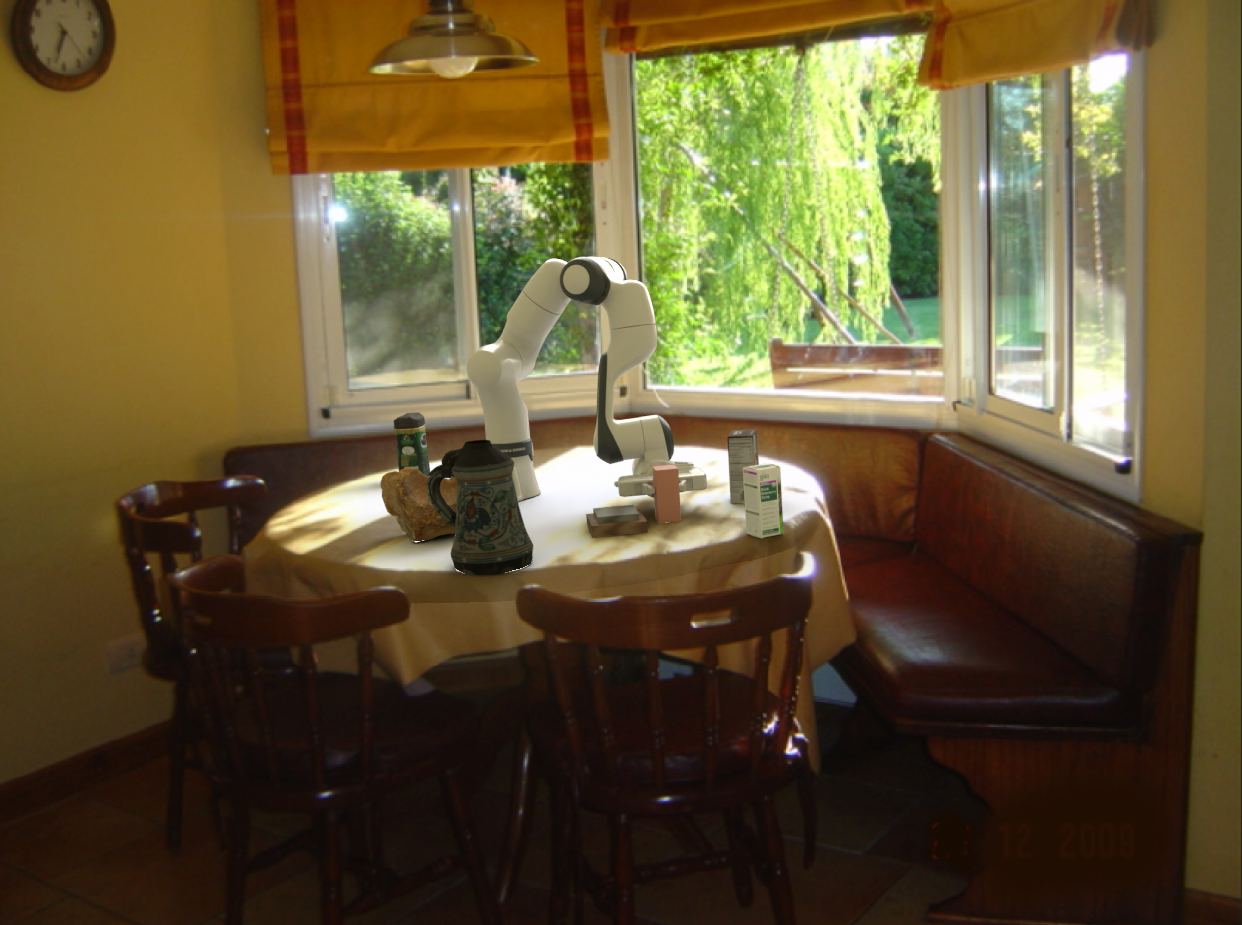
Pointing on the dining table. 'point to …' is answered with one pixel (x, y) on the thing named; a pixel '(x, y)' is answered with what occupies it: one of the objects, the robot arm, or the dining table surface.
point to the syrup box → (763, 500)
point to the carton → (666, 493)
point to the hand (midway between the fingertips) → (667, 490)
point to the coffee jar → (412, 442)
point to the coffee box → (741, 459)
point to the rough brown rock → (417, 503)
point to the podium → (616, 521)
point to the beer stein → (482, 510)
